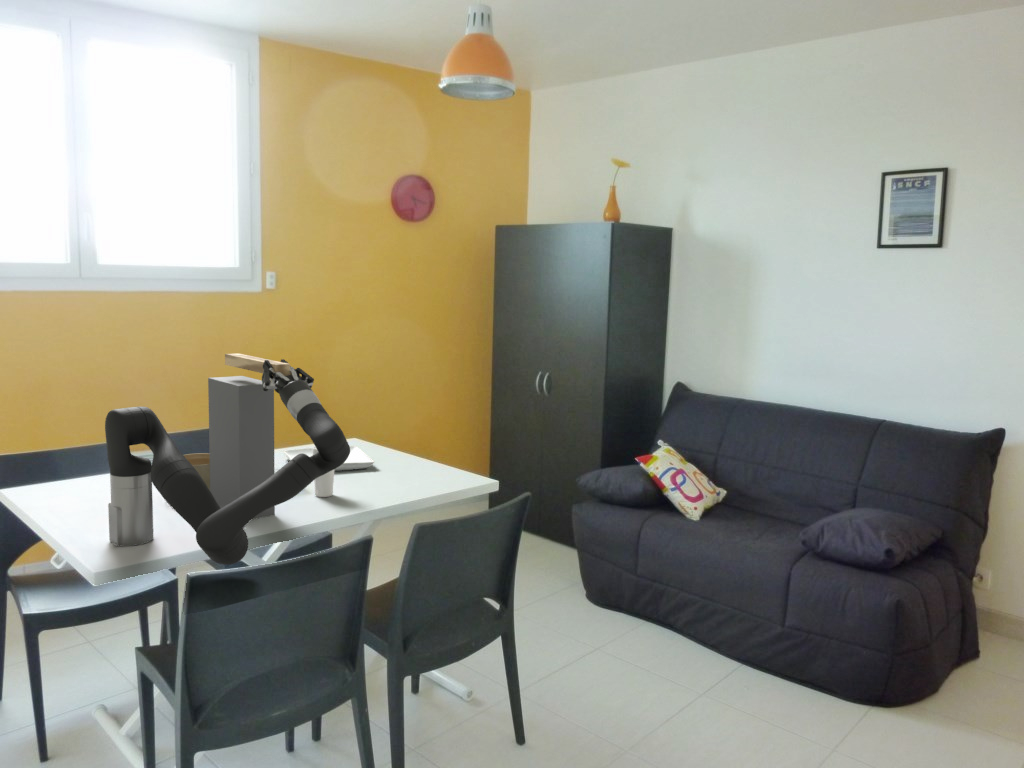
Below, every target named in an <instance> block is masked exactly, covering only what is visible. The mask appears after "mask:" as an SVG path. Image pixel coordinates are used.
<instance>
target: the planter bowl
mask: <svg viewBox="0 0 1024 768" xmlns="http://www.w3.org/2000/svg"><path fill="white" fill-rule="evenodd" d="M183 455H184V457H185V458H186V459H187V460H188V461H189V462H190V463H191V465H192V466H193V467H194V468H195V469H196V471H197V472H198V473H199V475H200V476H201V477H202V479H203V480H204V482H205V483H206V485H207V487H208V488H209V490H210V455H209V453H208V452H205V453H204V452H203V453H200V452H199V453H188V454H183Z"/></svg>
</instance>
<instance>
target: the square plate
mask: <svg viewBox="0 0 1024 768" xmlns="http://www.w3.org/2000/svg"><path fill="white" fill-rule="evenodd" d="M349 446H350V454H349V456H348V458H347V460H346V461H345V462H344V463H343V464H342V465H341V466H339V467H337V468H336V469H335V471H334V472H339V471H341V472H343V471H354V470H353V469H355V470H360V469H361V470H362V469H367V468H370V467H371V466H372V465H373V464H375V460H373V459H372V457H370V456H369V455H368V454H366V452H364V451H363V450H362V449H360V448H359V447H357V445H356V446H355V445H353V446H351V445H349ZM282 452H283V454H284V455H285V456H286V457H287V459H288V460H289V461H290V460H292V459H293V458H294V457H295V456H297V455H298V454H301V453H303V454H306V455H307V456H309V457H310V456H313V447H306V448H297V449H296V448H295V449H286V450H283V451H282ZM342 470H343V471H342Z"/></svg>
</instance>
